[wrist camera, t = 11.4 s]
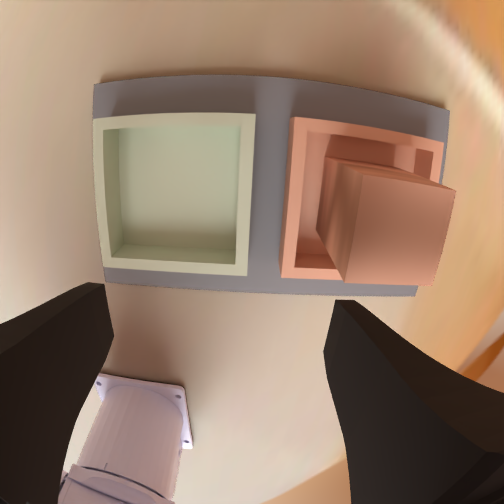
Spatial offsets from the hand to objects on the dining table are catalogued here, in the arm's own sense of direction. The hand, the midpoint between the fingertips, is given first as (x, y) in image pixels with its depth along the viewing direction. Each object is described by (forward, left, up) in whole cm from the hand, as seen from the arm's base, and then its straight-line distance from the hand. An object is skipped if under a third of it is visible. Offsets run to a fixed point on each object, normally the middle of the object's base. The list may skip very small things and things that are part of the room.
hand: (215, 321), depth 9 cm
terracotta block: (+2, -7, -8) cm, 11 cm away
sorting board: (+2, -2, -9) cm, 9 cm away
